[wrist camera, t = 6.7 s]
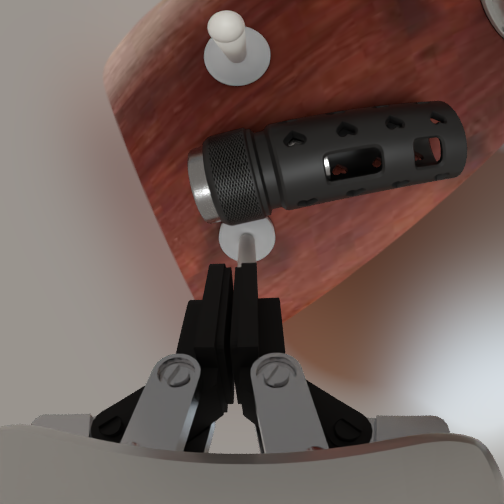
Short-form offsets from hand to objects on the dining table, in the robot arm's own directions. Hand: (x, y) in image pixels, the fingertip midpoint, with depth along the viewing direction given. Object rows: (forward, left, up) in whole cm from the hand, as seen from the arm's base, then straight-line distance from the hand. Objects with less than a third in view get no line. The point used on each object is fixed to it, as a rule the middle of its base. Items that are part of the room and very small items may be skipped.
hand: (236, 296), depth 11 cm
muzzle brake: (-9, 0, -28) cm, 29 cm away
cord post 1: (0, -11, -27) cm, 29 cm away
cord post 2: (0, +11, -27) cm, 29 cm away
